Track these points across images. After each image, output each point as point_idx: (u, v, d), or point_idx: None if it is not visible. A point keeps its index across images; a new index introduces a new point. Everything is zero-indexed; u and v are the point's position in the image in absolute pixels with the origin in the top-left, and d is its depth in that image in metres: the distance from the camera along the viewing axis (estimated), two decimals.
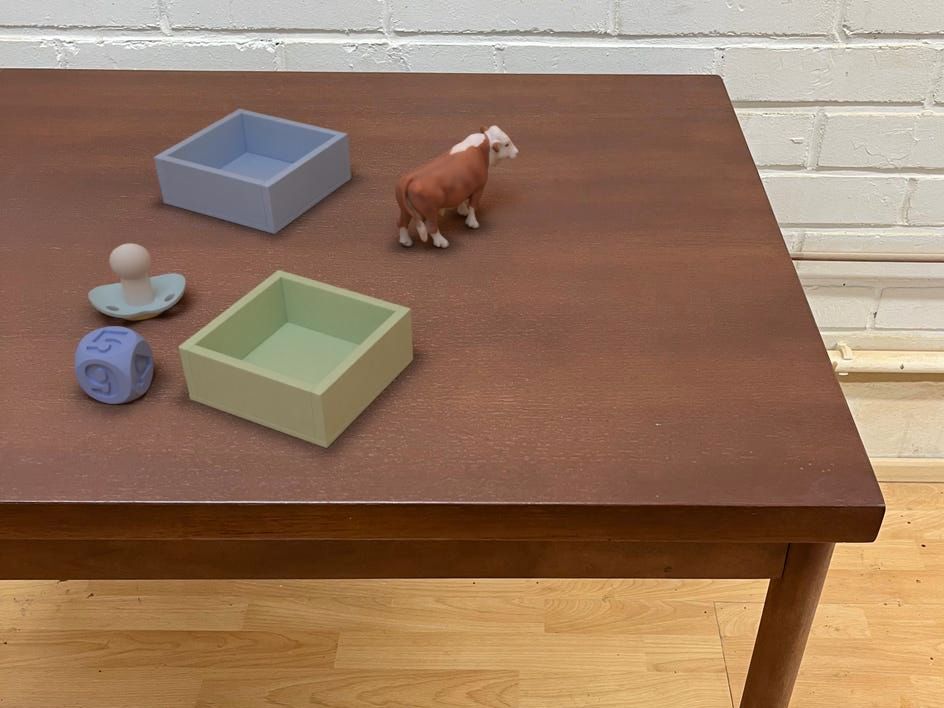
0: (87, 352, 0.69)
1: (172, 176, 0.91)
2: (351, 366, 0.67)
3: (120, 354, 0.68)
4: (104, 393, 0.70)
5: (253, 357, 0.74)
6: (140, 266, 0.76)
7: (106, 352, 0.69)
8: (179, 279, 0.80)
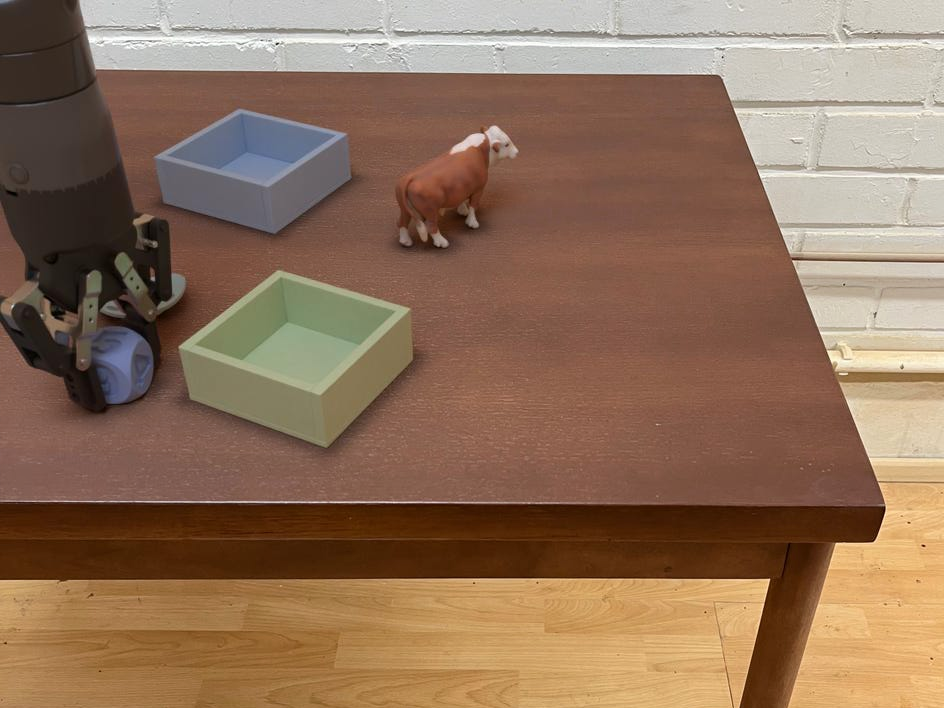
0: None
1: (172, 176, 0.91)
2: (351, 366, 0.67)
3: (120, 354, 0.68)
4: (104, 393, 0.70)
5: (253, 357, 0.74)
6: None
7: (106, 352, 0.69)
8: (179, 279, 0.80)
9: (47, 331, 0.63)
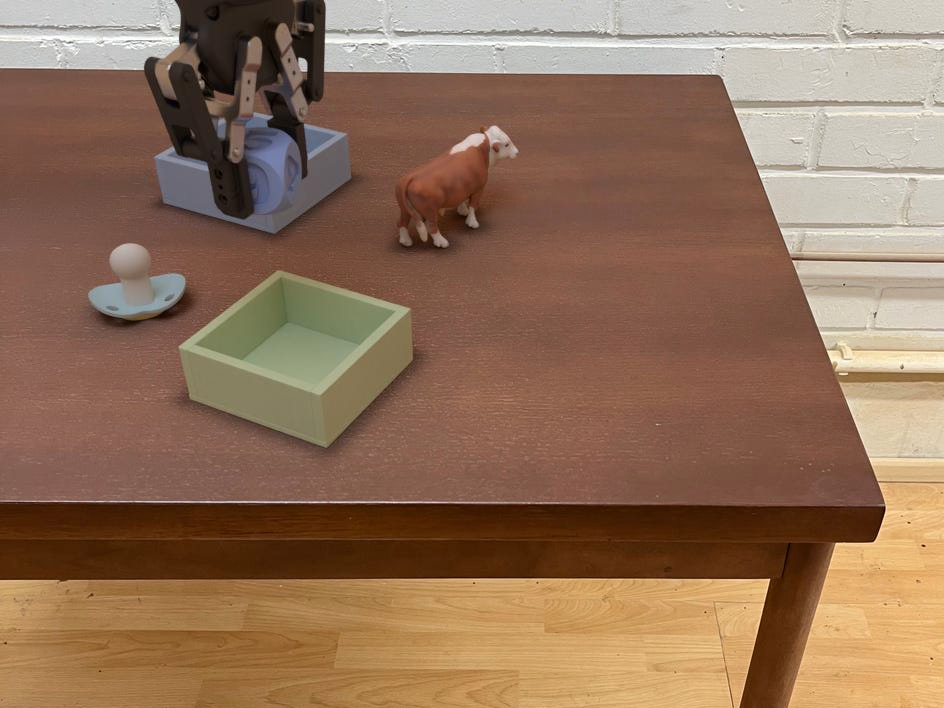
0: None
1: (172, 176, 0.91)
2: (351, 366, 0.67)
3: (274, 150, 0.60)
4: None
5: (253, 357, 0.74)
6: (140, 266, 0.76)
7: None
8: (179, 279, 0.80)
9: (204, 103, 0.54)
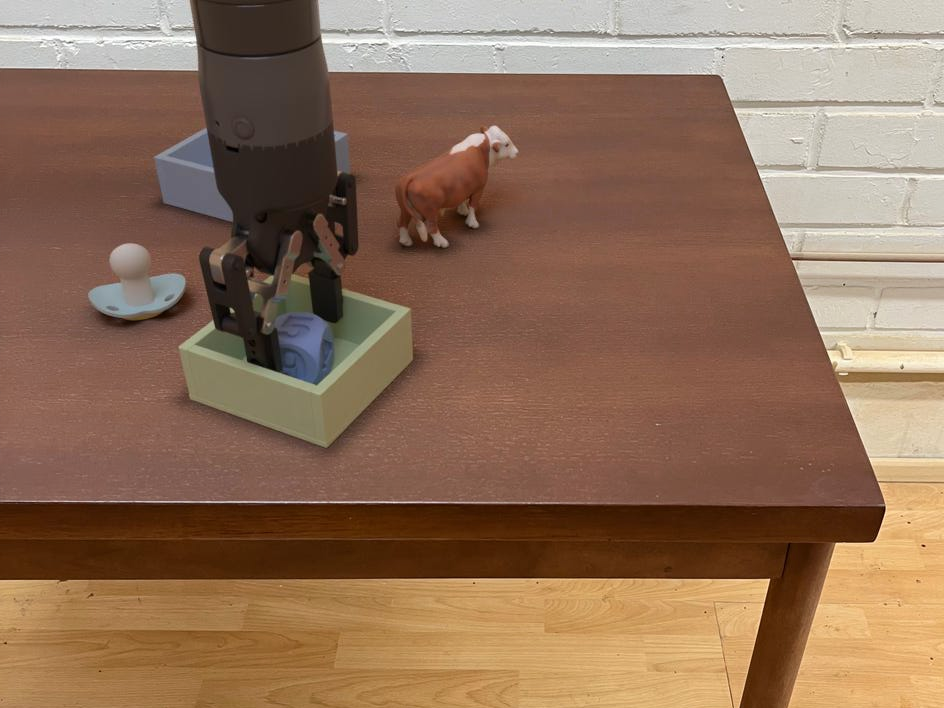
0: (278, 336, 0.69)
1: (172, 176, 0.91)
2: (351, 366, 0.67)
3: (310, 339, 0.69)
4: None
5: None
6: (140, 266, 0.76)
7: (295, 337, 0.70)
8: (179, 279, 0.80)
9: (248, 288, 0.62)
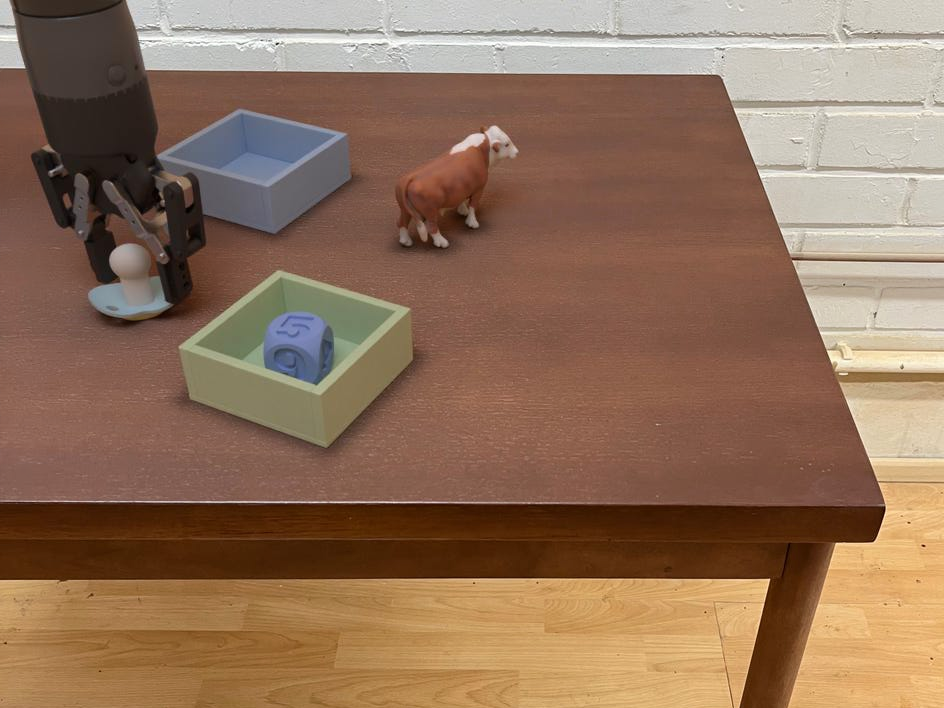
0: (278, 336, 0.69)
1: None
2: (351, 366, 0.67)
3: (310, 339, 0.69)
4: None
5: (253, 357, 0.74)
6: (140, 266, 0.76)
7: (295, 337, 0.70)
8: None
9: (51, 185, 0.75)
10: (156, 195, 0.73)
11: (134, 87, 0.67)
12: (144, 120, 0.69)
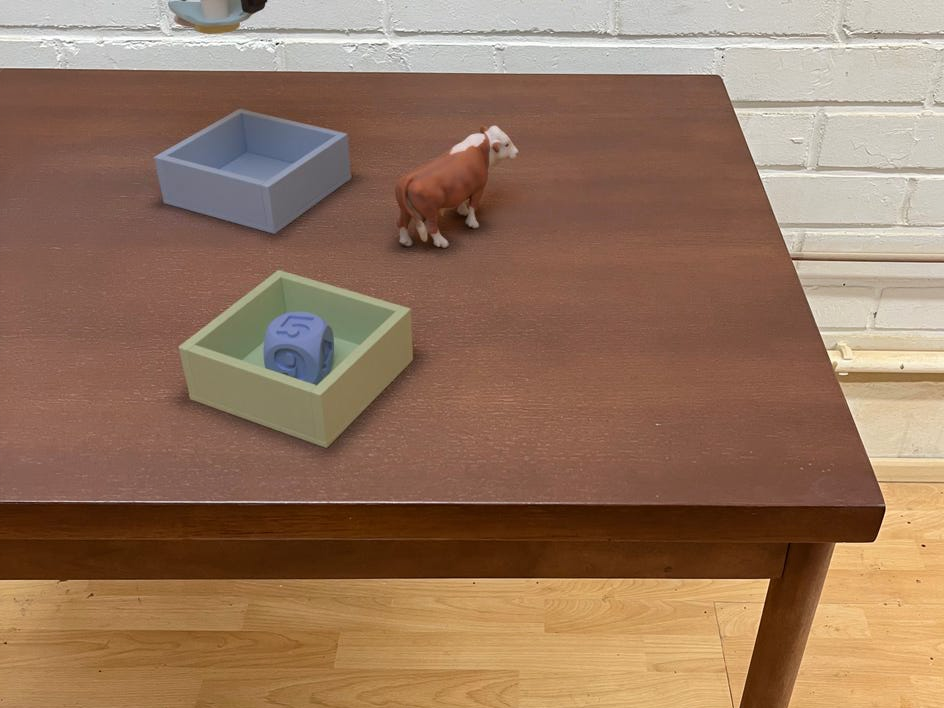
0: (278, 336, 0.69)
1: (172, 176, 0.91)
2: (351, 366, 0.67)
3: (310, 339, 0.69)
4: None
5: (253, 357, 0.74)
6: None
7: (295, 337, 0.70)
8: None
9: None
10: None
11: None
12: None
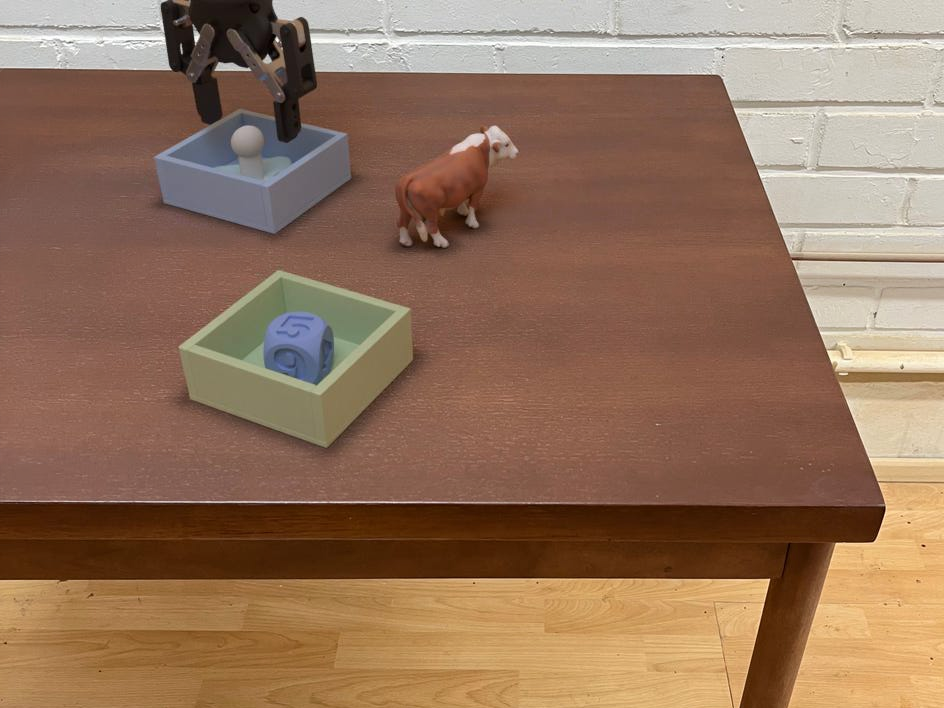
0: (278, 336, 0.69)
1: (172, 176, 0.91)
2: (351, 366, 0.67)
3: (310, 339, 0.69)
4: None
5: (253, 357, 0.74)
6: (257, 145, 0.91)
7: (295, 337, 0.70)
8: (284, 160, 0.95)
9: (173, 33, 0.87)
10: (270, 45, 0.85)
11: None
12: None
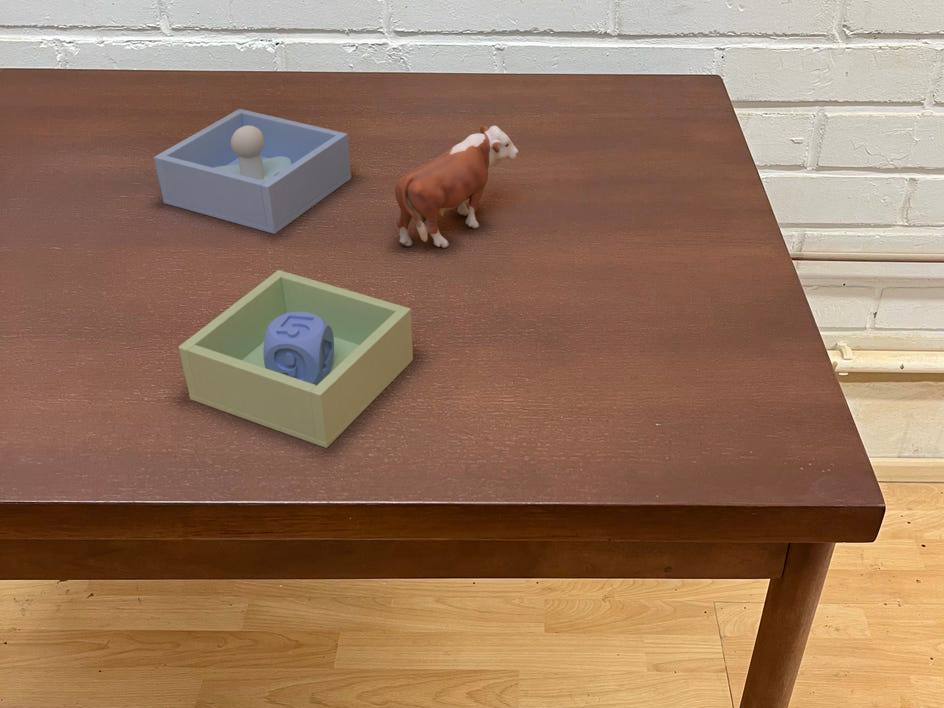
0: (278, 336, 0.69)
1: (172, 176, 0.91)
2: (351, 366, 0.67)
3: (310, 339, 0.69)
4: None
5: (253, 357, 0.74)
6: (257, 145, 0.91)
7: (295, 337, 0.70)
8: (284, 160, 0.95)
9: None
10: None
11: None
12: None
